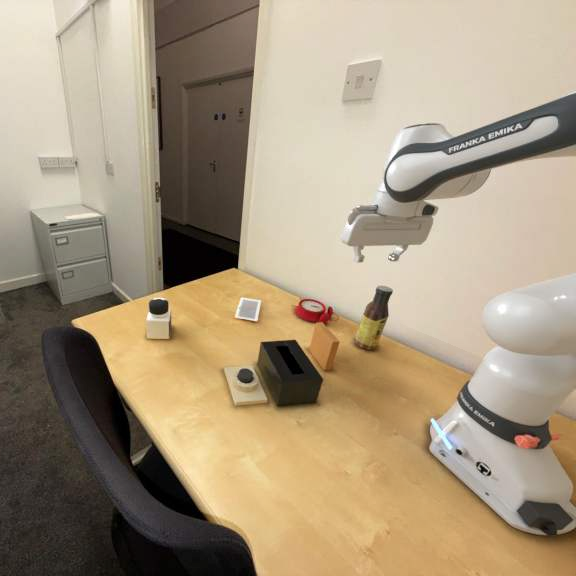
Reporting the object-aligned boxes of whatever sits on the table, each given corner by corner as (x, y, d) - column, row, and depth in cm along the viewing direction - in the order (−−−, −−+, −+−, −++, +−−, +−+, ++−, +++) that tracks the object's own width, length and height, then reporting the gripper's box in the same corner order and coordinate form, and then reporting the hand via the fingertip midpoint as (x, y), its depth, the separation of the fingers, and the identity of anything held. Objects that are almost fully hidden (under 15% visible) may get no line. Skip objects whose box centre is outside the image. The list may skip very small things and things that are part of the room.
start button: (254, 382, 75) (255, 377, 74) (240, 384, 74) (241, 379, 74) (249, 372, 78) (250, 367, 77) (236, 373, 78) (237, 368, 77)
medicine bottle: (169, 339, 94) (169, 307, 88) (147, 339, 94) (145, 306, 88) (171, 326, 100) (171, 295, 95) (150, 325, 100) (148, 294, 95)
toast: (330, 369, 83) (339, 341, 79) (324, 370, 83) (332, 341, 78) (315, 349, 91) (322, 322, 87) (308, 349, 91) (316, 322, 86)
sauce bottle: (374, 353, 90) (396, 296, 81) (351, 345, 93) (370, 289, 84) (377, 343, 94) (399, 288, 85) (356, 335, 98) (374, 281, 89)
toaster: (316, 403, 73) (323, 379, 69) (277, 407, 72) (282, 382, 68) (290, 361, 86) (295, 339, 82) (257, 364, 85) (260, 341, 81)
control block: (267, 402, 73) (268, 394, 71) (235, 405, 72) (236, 397, 70) (251, 368, 83) (253, 360, 82) (224, 370, 82) (224, 362, 81)
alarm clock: (300, 295, 114) (342, 300, 104) (300, 309, 116) (342, 316, 106) (289, 305, 107) (333, 312, 97) (289, 321, 109) (333, 329, 99)
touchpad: (260, 303, 115) (261, 298, 114) (256, 323, 103) (257, 318, 102) (240, 299, 117) (241, 294, 116) (234, 319, 105) (234, 314, 104)
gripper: (360, 208, 64) (343, 267, 70) (445, 208, 66) (421, 265, 73) (344, 202, 69) (329, 257, 76) (423, 201, 72) (402, 255, 78)
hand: (375, 261), depth 74 cm, fingers open, 8 cm apart
